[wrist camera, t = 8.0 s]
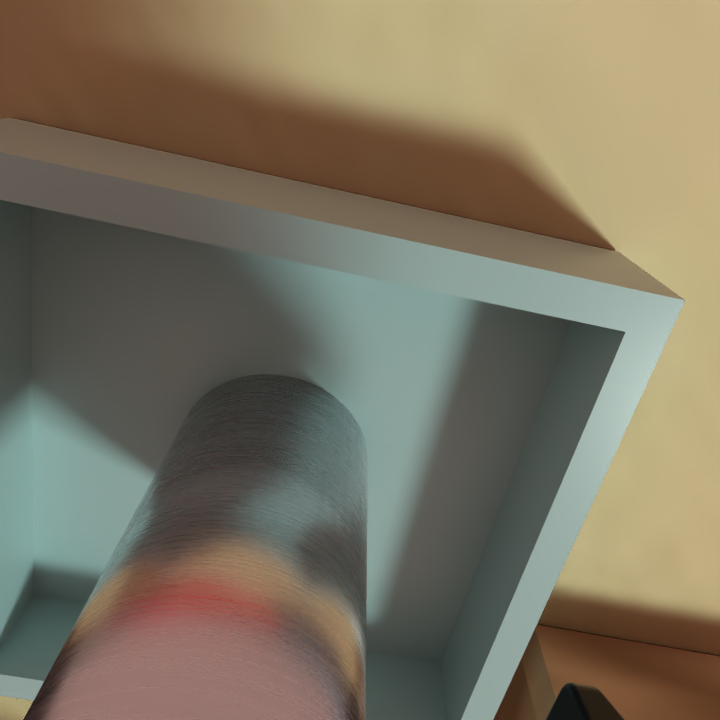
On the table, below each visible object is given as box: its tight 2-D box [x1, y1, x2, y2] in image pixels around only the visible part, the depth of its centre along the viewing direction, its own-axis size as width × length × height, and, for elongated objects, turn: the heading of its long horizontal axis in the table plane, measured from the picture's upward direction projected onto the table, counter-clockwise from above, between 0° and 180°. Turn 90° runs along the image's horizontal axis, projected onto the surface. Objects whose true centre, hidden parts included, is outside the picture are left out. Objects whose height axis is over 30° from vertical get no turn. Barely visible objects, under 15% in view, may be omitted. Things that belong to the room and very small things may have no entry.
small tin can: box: [24, 374, 368, 720], centre depth 8 cm, size 4×4×9 cm
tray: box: [0, 118, 685, 720], centre depth 11 cm, size 10×10×2 cm
